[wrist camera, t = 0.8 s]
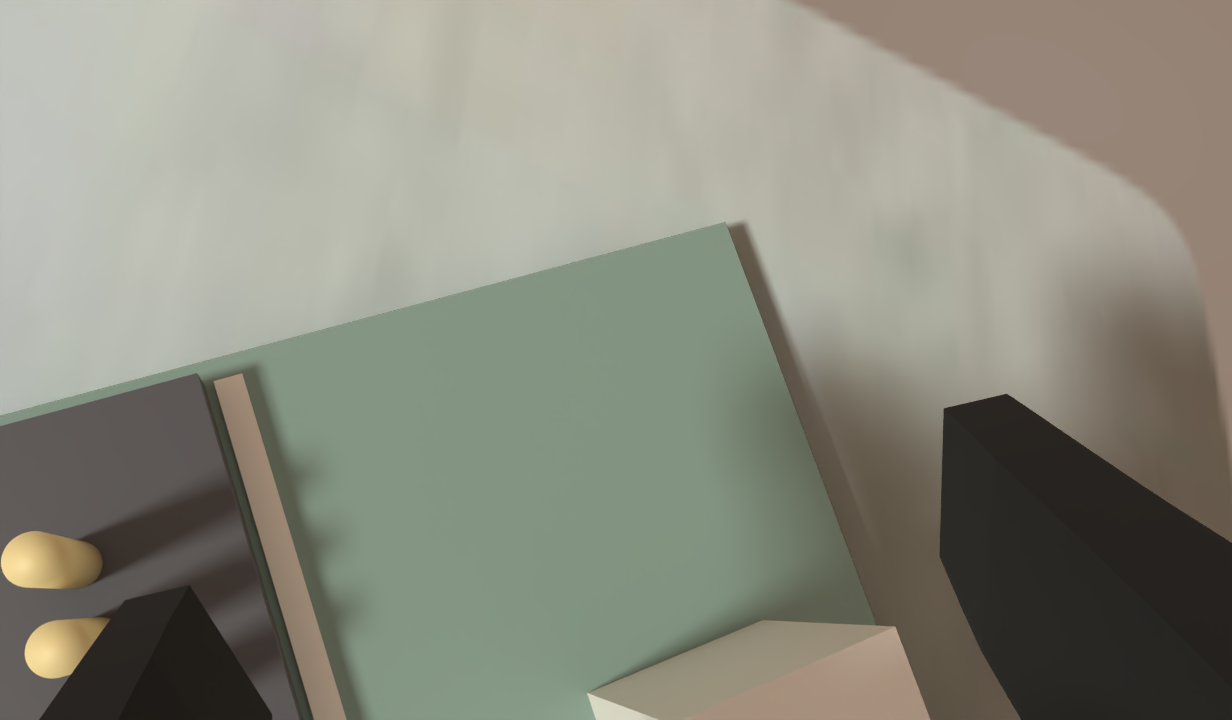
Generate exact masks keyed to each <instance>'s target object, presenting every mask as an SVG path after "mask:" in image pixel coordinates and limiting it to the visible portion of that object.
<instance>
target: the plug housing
mask: <svg viewBox="0 0 1232 720" xmlns="http://www.w3.org/2000/svg"><path fill="white" fill-rule="evenodd" d="M587 694H588V697H589V700H590V703H591V706H592V709H593V712H594V715H595V718H596V720H930V717H929V714H928V712H927V709H926V706H925V704H924V701H923V698H922V696H921V693H920V691H919V688H918V685H917V683H916V680H915V677H914V675H913V672H912V669H911V667H910V664H909V661H908V659H907V656H906V653H905V651H904V648H903V646H902V643H901V640H900V638H899V635H898V632H897V630H896V627H895V626H874V625H854V624H833V623H812V622H792V621H771V620H762V621H759V622H757V623H754V624H752V625H750V626H747V627H745V628H742V629H740V630H737V631H735V632H733V633H730V634H728V635H725V636H723V637H721V638H718V639H716V640H713V641H711V642H709V643H706V644H704V645H701V646H699V647H697V648H694V649H692V650H689V651H687V652H685V653H682V654H680V655H677V656H675V657H673V658H670V659H668V660H665V661H663V662H660V663H658V664H656V665H653V666H651V667H648V668H646V669H644V670H641V671H639V672H636V673H634V674H632V675H629V676H627V677H624V678H622V679H620V680H617V681H615V682H612V683H610V684H608V685H605V686H603V687H600V688H598V689H596V690H593V691H591V692H588V693H587Z"/></svg>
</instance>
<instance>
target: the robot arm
mask: <svg viewBox="0 0 1232 720" xmlns="http://www.w3.org/2000/svg"><path fill="white" fill-rule="evenodd" d="M940 558H941V561H942V563H943V565H944V568H945V570H946V572H947V575H948V577H949V579H950V582H951V584H952V586H953V589H954V591H955V593H956V596H957V598H958V600H959V603H960V605H961V607H962V609H963V612H964V614H965V616H966V618H967V620H968V623H969V625H970V627H971V629H972V631H973V634H974V636H975V638H976V640H977V642H978V645H979V647H980V649H981V651H982V653H983V655H984V656H985V658H986V660H987V662H988V663H989V665H990V667H991V669H992V670H993V672H994V674H995V676H996V677H997V679H998V681H999V682H1000V684H1001V686H1002V687H1003V689H1004V691H1005V693H1006V694H1007V696H1008V698H1009V699H1010V701H1011V703H1012V705H1013V706H1014V708H1015V710H1016V711H1017V713H1018V715H1019V716H1020V718H1021V720H1232V543H1231V542H1229V541H1228V540H1226V539H1225V538H1223V537H1221V536H1220V535H1218V534H1217V533H1215V532H1214V531H1212V530H1210V529H1209V528H1207V527H1206V526H1204V525H1203V524H1201V523H1199V522H1198V521H1196V520H1195V519H1193V518H1191V517H1190V516H1188V515H1187V514H1185V513H1184V512H1182V511H1180V510H1179V509H1177V508H1176V507H1174V506H1173V505H1171V504H1169V503H1168V502H1166V501H1165V500H1163V499H1162V498H1160V497H1159V496H1157V495H1156V494H1154V493H1153V492H1151V491H1150V490H1148V489H1147V488H1145V487H1144V486H1142V485H1141V484H1139V483H1138V482H1136V481H1135V480H1133V479H1132V478H1130V477H1129V476H1127V475H1126V474H1124V473H1123V472H1121V471H1120V470H1118V469H1117V468H1115V467H1114V466H1112V465H1111V464H1109V463H1108V462H1106V461H1105V460H1104V459H1102V458H1101V457H1099V456H1098V455H1096V454H1095V453H1093V452H1092V451H1090V450H1089V449H1087V448H1086V447H1084V446H1083V445H1081V444H1080V443H1079V442H1077V441H1076V440H1074V439H1073V438H1071V437H1070V436H1068V435H1067V434H1065V433H1064V432H1062V431H1061V430H1060V429H1058V428H1057V427H1055V426H1054V425H1052V424H1051V423H1049V422H1048V421H1046V420H1045V419H1043V418H1042V417H1040V416H1039V415H1037V414H1036V413H1035V412H1033V411H1032V410H1030V409H1029V408H1027V407H1026V406H1024V405H1023V404H1021V403H1020V402H1018V401H1017V400H1015V399H1014V398H1012V397H1011V396H1009V395H1008V394H1004V395H1000V396H995V397H991V398H987V399H983V400H978V401H974V402H970V403H966V404H961V405H957V406H953V407H948V408H944V420H943V456H942V492H941V527H940ZM39 720H272V713H271V711H270V710H269V708H268V707H267V705H266V704H265V702H264V700H263V699H262V697H261V696H260V694H259V693H258V691H257V690H256V688H255V686H254V685H253V683H252V682H251V680H250V679H249V677H248V675H247V674H246V672H245V671H244V669H243V668H242V666H241V665H240V663H239V661H238V660H237V658H236V657H235V655H234V654H233V652H232V650H231V649H230V647H229V646H228V644H227V643H226V641H225V640H224V638H223V636H222V635H221V633H220V632H219V630H218V629H217V627H216V625H215V624H214V622H213V621H212V619H211V618H210V616H209V615H208V613H207V611H206V610H205V608H204V607H203V605H202V604H201V602H200V600H199V599H198V597H197V596H196V594H195V593H194V591H193V590H192V588H191V586H190V585H187V586H183V587H179V588H174V589H170V590H166V591H162V592H157V593H153V594H149V595H144V596H140V597H136V598H132V599H127V600H125V601H124V602H123V603H122V605H121V606H120V607H119V609H118V610H117V611H116V613H115V614H114V615H113V617H112V618H111V619H110V621H109V622H108V623H107V625H106V626H105V627H104V629H103V630H102V632H101V633H100V634H99V636H98V637H97V639H96V640H95V641H94V643H93V644H92V646H91V647H90V648H89V650H88V651H87V653H86V654H85V655H84V657H83V658H82V660H81V661H80V662H79V664H78V665H77V667H76V668H75V669H74V671H73V672H72V674H71V675H70V677H69V678H68V679H67V681H66V682H65V684H64V685H63V686H62V688H61V689H60V691H59V692H58V694H57V695H56V696H55V698H54V699H53V701H52V702H51V703H50V705H49V706H48V708H47V709H46V711H45V712H44V713H43V715H42V716H41V718H40V719H39Z"/></svg>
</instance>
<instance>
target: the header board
mask: <svg viewBox="0 0 1232 720" xmlns="http://www.w3.org/2000/svg"><path fill="white" fill-rule="evenodd" d="M187 585H190V586H191V588H192V590H193V591H194V593H195V594H196V596H197V597H198V599H199V600H200V602H201V604H202V605H203V607H204V608H205V610H206V611H207V613H208V615H209V616H210V618H211V619H212V621H213V622H214V624H215V625H216V627H217V629H218V630H219V632H220V633H221V635H222V636H223V638H224V640H225V641H226V643H227V644H228V646H229V647H230V649H231V650H232V652H233V654H234V655H235V657H236V658H237V660H238V661H239V663H240V665H241V666H242V668H243V669H244V671H245V672H246V674H247V675H248V677H249V679H250V680H251V682H252V683H253V685H254V686H255V688H256V690H257V691H258V693H259V694H260V696H261V697H262V699H263V700H264V702H265V704H266V705H267V707H268V708H269V710H270V711H271V713H272V720H596V718H595V715H594V712H593V709H592V706H591V703H590V700H589V697H588V694H587V693H588V692H591V691H593V690H596V689H598V688H600V687H603V686H605V685H608V684H610V683H612V682H615V681H617V680H620V679H622V678H624V677H627V676H629V675H632V674H634V673H636V672H639V671H641V670H644V669H646V668H648V667H651V666H653V665H656V664H658V663H660V662H663V661H665V660H668V659H670V658H673V657H675V656H677V655H680V654H682V653H685V652H687V651H689V650H692V649H694V648H697V647H699V646H701V645H704V644H706V643H709V642H711V641H713V640H716V639H718V638H721V637H723V636H725V635H728V634H730V633H733V632H735V631H737V630H740V629H742V628H745V627H747V626H750V625H752V624H754V623H757V622H759V621H762V620H771V621H792V622H812V623H833V624H854V625H874V626H877V624H876V622H875V619H874V616H873V614H872V611H871V608H870V606H869V603H868V600H867V598H866V595H865V592H864V590H863V587H862V584H861V582H860V579H859V576H858V574H857V571H856V568H855V566H854V563H853V560H852V558H851V555H850V553H849V550H848V547H847V545H846V542H845V539H844V537H843V534H842V531H841V529H840V526H839V523H838V521H837V518H836V515H835V513H834V510H833V507H832V505H831V502H830V499H829V497H828V494H827V491H826V489H825V486H824V483H823V481H822V478H821V475H820V473H819V470H818V467H817V465H816V462H815V459H814V457H813V454H812V451H811V449H810V446H809V443H808V441H807V438H806V435H805V433H804V430H803V427H802V425H801V422H800V419H799V417H798V414H797V411H796V409H795V406H794V403H793V401H792V398H791V395H790V393H789V390H788V387H787V385H786V382H785V379H784V377H783V374H782V371H781V369H780V366H779V363H778V361H777V358H776V355H775V353H774V350H773V347H772V345H771V342H770V339H769V337H768V334H767V331H766V329H765V326H764V323H763V321H762V318H761V315H760V313H759V310H758V307H757V305H756V302H755V299H754V297H753V294H752V291H751V289H750V286H749V283H748V281H747V278H746V275H745V273H744V270H743V267H742V265H741V262H740V259H739V257H738V254H737V251H736V249H735V246H734V243H733V241H732V238H731V235H730V233H729V230H728V227H727V225H726V222H724V223H720V224H716V225H713V226H709V227H705V228H701V229H698V230H694V231H690V232H686V233H683V234H679V235H675V236H671V237H668V238H664V239H660V240H656V241H653V242H649V243H645V244H641V245H638V246H634V247H630V248H626V249H623V250H619V251H615V252H612V253H608V254H604V255H600V256H597V257H593V258H589V259H585V260H582V261H578V262H574V263H570V264H567V265H563V266H559V267H555V268H552V269H548V270H544V271H540V272H537V273H533V274H529V275H525V276H522V277H518V278H514V279H510V280H507V281H503V282H499V283H495V284H492V285H488V286H484V287H480V288H477V289H473V290H469V291H465V292H462V293H458V294H454V295H450V296H447V297H443V298H439V299H436V300H432V301H428V302H424V303H421V304H417V305H413V306H409V307H406V308H402V309H398V310H394V311H391V312H387V313H383V314H379V315H376V316H372V317H368V318H364V319H361V320H357V321H353V322H349V323H346V324H342V325H338V326H334V327H331V328H327V329H323V330H319V331H316V332H312V333H308V334H304V335H301V336H297V337H293V338H289V339H286V340H282V341H278V342H274V343H271V344H267V345H263V346H259V347H256V348H252V349H248V350H245V351H241V352H237V353H233V354H230V355H226V356H222V357H218V358H215V359H211V360H207V361H203V362H200V363H196V364H192V365H188V366H185V367H181V368H177V369H173V370H170V371H166V372H162V373H158V374H155V375H151V376H147V377H143V378H140V379H136V380H132V381H128V382H125V383H121V384H117V385H113V386H110V387H106V388H102V389H98V390H95V391H91V392H87V393H83V394H80V395H76V396H72V397H69V398H65V399H61V400H57V401H54V402H50V403H46V404H42V405H39V406H35V407H31V408H27V409H24V410H20V411H16V412H12V413H9V414H5V415H1V416H0V720H39V719H40V718H41V716H42V715H43V713H44V712H45V711H46V709H47V708H48V706H49V705H50V703H51V702H52V701H53V699H54V698H55V696H56V695H57V694H58V692H59V691H60V689H61V688H62V686H63V685H64V684H65V682H66V681H67V679H68V678H69V677H70V675H71V674H72V672H73V671H74V669H75V668H76V667H77V665H78V664H79V662H80V661H81V660H82V658H83V657H84V655H85V654H86V653H87V651H88V650H89V648H90V647H91V646H92V644H93V643H94V641H95V640H96V639H97V637H98V636H99V634H100V633H101V632H102V630H103V629H104V627H105V626H106V625H107V623H108V622H109V621H110V619H111V618H112V617H113V615H114V614H115V613H116V611H117V610H118V609H119V607H120V606H121V605H122V603H123V602H124V601H125V600H127V599H132V598H136V597H140V596H144V595H149V594H153V593H157V592H162V591H166V590H170V589H174V588H179V587H183V586H187Z"/></svg>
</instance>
